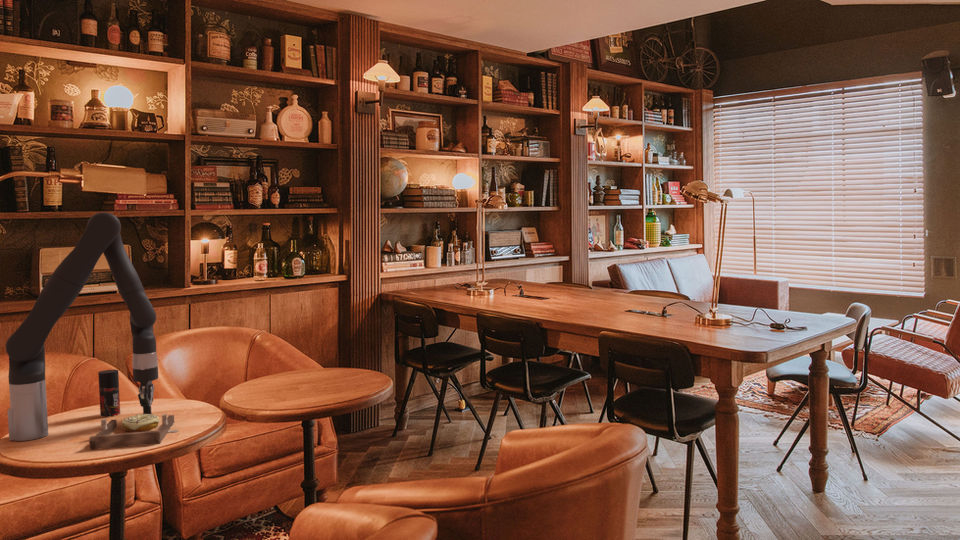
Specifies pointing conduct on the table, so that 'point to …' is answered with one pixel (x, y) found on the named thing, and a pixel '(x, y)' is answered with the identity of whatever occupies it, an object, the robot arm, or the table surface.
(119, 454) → the table surface
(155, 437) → the u-shaped frame
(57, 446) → the table surface
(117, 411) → the deodorant
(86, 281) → the robot arm
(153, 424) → the decorated donut
